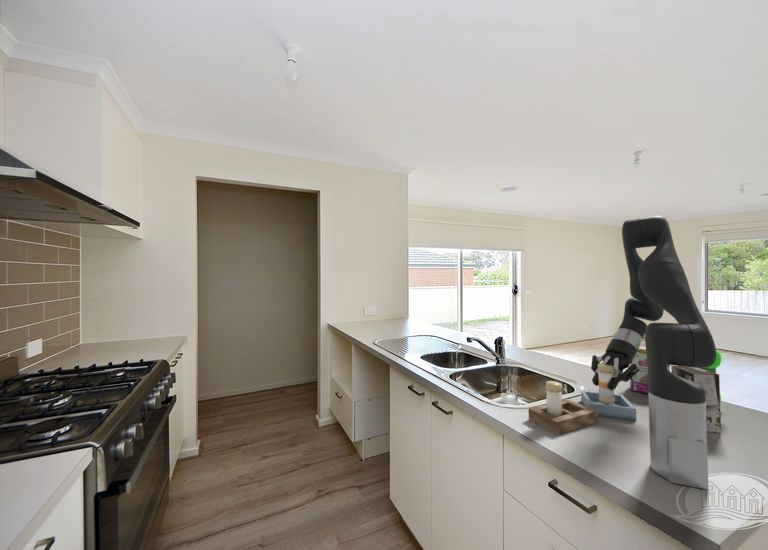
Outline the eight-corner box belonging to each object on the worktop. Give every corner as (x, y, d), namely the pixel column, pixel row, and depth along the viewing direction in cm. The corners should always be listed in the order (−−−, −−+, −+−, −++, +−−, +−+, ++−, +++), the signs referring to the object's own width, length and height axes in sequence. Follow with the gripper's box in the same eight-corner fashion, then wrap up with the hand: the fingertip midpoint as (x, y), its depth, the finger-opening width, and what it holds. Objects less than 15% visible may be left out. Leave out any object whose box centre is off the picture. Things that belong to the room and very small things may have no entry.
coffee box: (722, 433, 84) (721, 374, 85) (695, 431, 86) (693, 373, 86) (696, 418, 93) (694, 365, 94) (671, 416, 95) (670, 364, 95)
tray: (636, 420, 92) (636, 409, 92) (589, 414, 97) (589, 403, 97) (622, 405, 104) (622, 394, 104) (581, 400, 108) (581, 390, 108)
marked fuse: (616, 405, 98) (615, 368, 98) (600, 403, 99) (599, 366, 99) (612, 400, 101) (611, 364, 102) (597, 399, 103) (596, 363, 103)
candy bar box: (631, 391, 115) (630, 348, 115) (629, 387, 119) (628, 345, 120) (671, 397, 109) (669, 351, 109) (667, 392, 113) (666, 348, 114)
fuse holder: (566, 409, 101) (566, 398, 101) (597, 422, 92) (597, 410, 92) (528, 419, 95) (528, 408, 95) (558, 434, 85) (557, 422, 85)
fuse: (563, 427, 89) (562, 386, 89) (547, 425, 91) (546, 384, 91) (561, 421, 93) (560, 381, 93) (546, 419, 95) (545, 380, 95)
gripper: (597, 334, 110) (575, 373, 105) (643, 342, 97) (620, 386, 92) (607, 347, 112) (586, 386, 107) (653, 356, 99) (632, 401, 94)
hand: (602, 386), depth 100 cm, fingers closed on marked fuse, 4 cm apart
